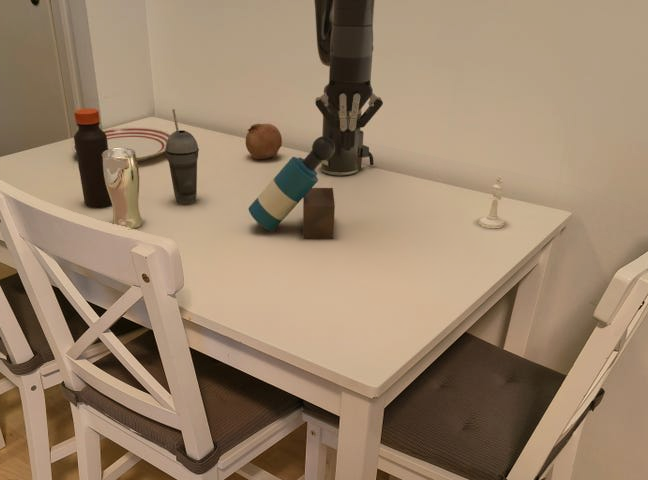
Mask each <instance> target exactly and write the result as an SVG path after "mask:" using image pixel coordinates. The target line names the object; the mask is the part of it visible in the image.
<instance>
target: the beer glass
mask: <svg viewBox="0 0 648 480" xmlns="http://www.w3.org/2000/svg"><path fill="white" fill-rule="evenodd" d="M102 162H103V174H104V180H105V184H106V188H107V191H108V194H109V197H110V200H111V203H112V205H111V208H112V225H113V224H117V225H121V226H125V227H129V228H132V229H131V230H134V229H137V228H139V227H141V226H142V225H143V219H142V216H141V215H142V214H141V212H140V208H139V197H140V196H139V195H140V171H139V164H138V162H137V159H136V153H135V150H133V149H129V148H114V149H109V150H106V151H104V152H102Z"/></svg>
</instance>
